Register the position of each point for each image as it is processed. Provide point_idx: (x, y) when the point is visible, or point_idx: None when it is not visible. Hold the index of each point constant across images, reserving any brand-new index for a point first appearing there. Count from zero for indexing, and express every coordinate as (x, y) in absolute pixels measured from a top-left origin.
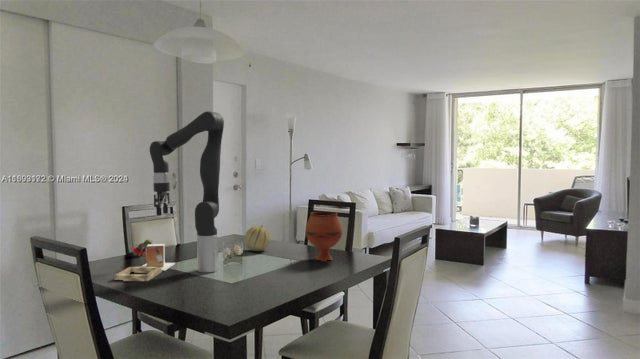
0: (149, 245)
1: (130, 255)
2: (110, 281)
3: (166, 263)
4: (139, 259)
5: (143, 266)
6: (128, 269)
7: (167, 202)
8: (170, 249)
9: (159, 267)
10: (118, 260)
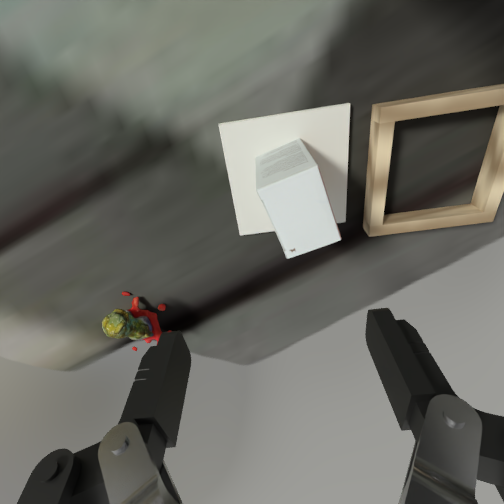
0: (321, 237)
1: None
2: None
3: (239, 157)
4: (191, 287)
5: None
6: (407, 221)
7: (159, 487)
8: (9, 273)
9: (389, 112)
10: (221, 329)
